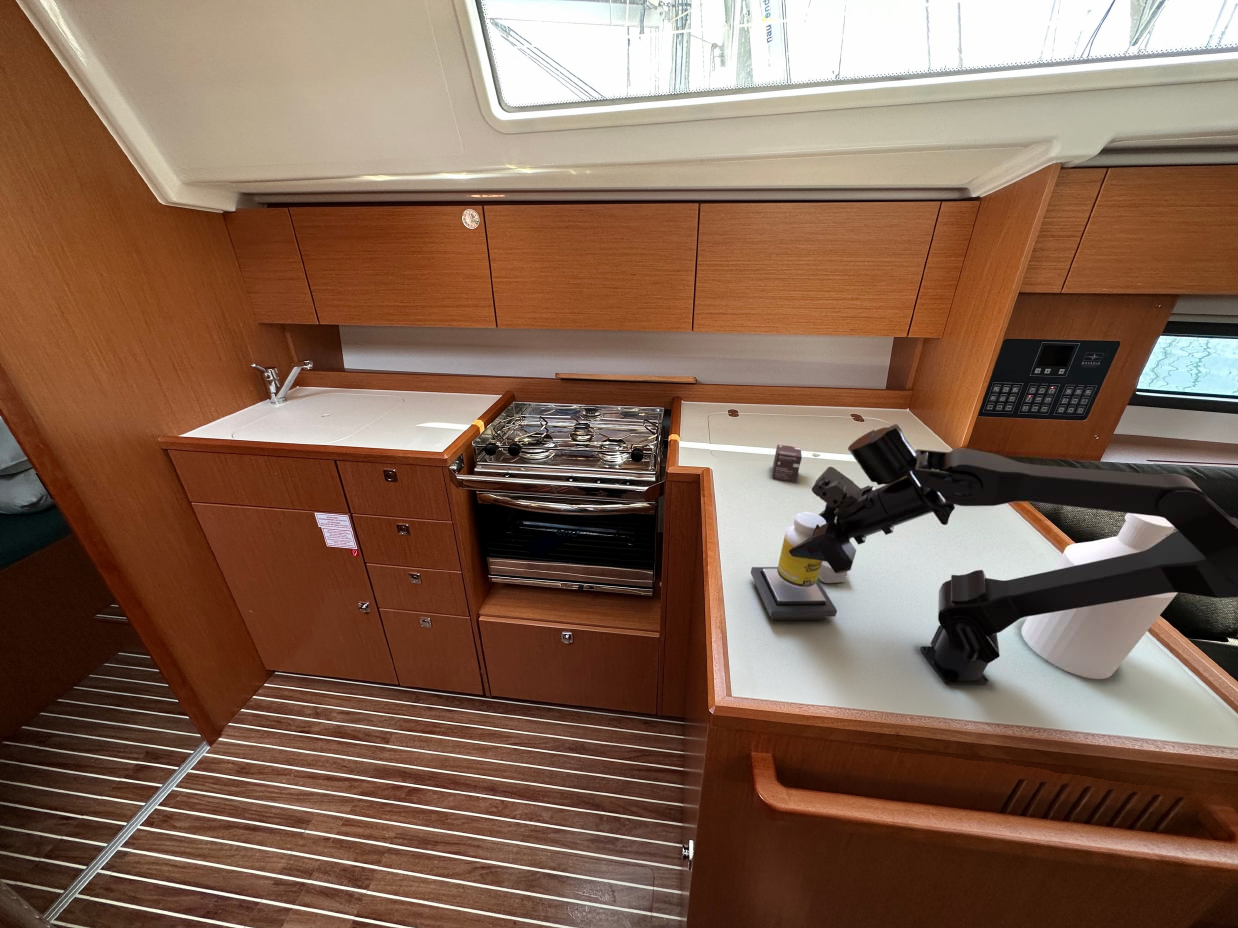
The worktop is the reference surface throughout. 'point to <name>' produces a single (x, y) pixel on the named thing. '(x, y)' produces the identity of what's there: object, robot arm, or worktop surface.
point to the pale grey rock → (830, 574)
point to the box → (786, 463)
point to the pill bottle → (796, 568)
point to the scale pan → (791, 591)
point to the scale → (791, 611)
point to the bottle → (1100, 608)
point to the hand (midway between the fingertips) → (795, 542)
